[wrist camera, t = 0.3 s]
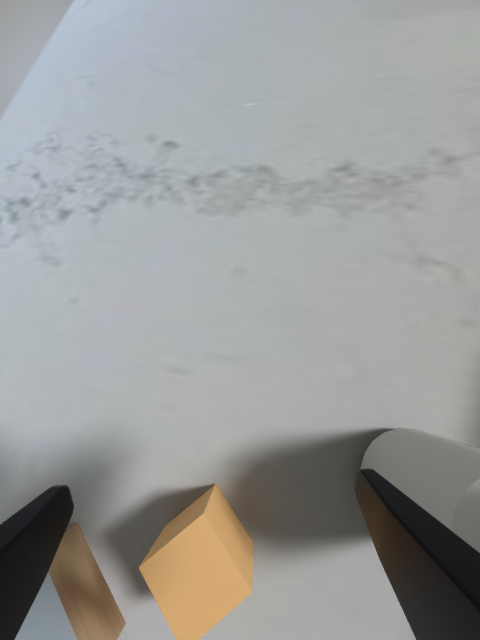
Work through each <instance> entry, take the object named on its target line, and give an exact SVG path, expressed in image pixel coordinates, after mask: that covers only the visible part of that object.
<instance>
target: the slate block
mask: <svg viewBox="0 0 480 640" xmlns="http://www.w3.org/2000/svg"><path fill="white" fill-rule="evenodd" d="M15 640H77V638H76V635H75V633H74V631H73V628H72V626H71V624H70V621H69V619H68V617H67V614H66V612H65V610H64V607H63V605H62V602H61V600H60V598H59V595H58V593H57V591H56V588H55V586H54V584H53V581H52V579H51V577H50V574H49V572H48V574H47V576H46V578H45V580H44V582H43V584H42V586H41V588H40V590H39V592H38V594H37V596H36V598H35V600H34V602H33V604H32V606H31V608H30V610H29V612H28V614H27V616H26V618H25V620H24V622H23V624H22V626H21V628H20V630H19V632H18V634H17V636H16V638H15Z"/></svg>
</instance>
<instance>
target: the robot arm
mask: <svg viewBox="0 0 480 640" xmlns="http://www.w3.org/2000/svg"><path fill="white" fill-rule="evenodd" d="M356 496H357V499H358V502H359V504H360V507H361V510H362V513H363V516H364V518H365V521H366V524H367V527H368V529H369V532H370V535H371V538H372V540H373V543H374V546H375V549H376V551H377V554H378V556H379V559H380V561H381V563H382V566H383V568H384V570H385V572H386V574H387V577H388V579H389V581H390V583H391V585H392V588H393V590H394V592H395V594H396V596H397V598H398V601H399V603H400V605H401V607H402V609H403V611H404V614H405V616H406V618H407V620H408V622H409V625H410V627H411V629H412V631H413V633H414V635H415V638H416V640H480V553H479V552H478V551H477V550H476V549H474V548H473V547H472V546H471V545H469V544H468V543H467V542H465V541H464V540H463V539H462V538H460V537H459V536H458V535H457V534H455V533H454V532H453V531H451V530H450V529H449V528H448V527H446V526H445V525H444V524H442V523H441V522H440V521H439V520H437V519H436V518H435V517H434V516H432V515H431V514H430V513H428V512H427V511H426V510H425V509H423V508H422V507H421V506H419V505H418V504H417V503H416V502H414V501H413V500H412V499H411V498H409V497H408V496H407V495H405V494H404V493H403V492H402V491H400V490H399V489H398V488H397V487H395V486H394V485H393V484H391V483H390V482H389V481H388V480H386V479H385V478H384V477H382V476H381V475H380V474H379V473H377V472H376V471H375V470H373V469H371V468H364V469H359V470H358V472H357V480H356ZM73 509H74V504H73V500H72V497H71V493H70V489H69V487H68V486H67V485H55V486H52V487H50V488H49V489H48V490H46V491H45V492H43V493H42V494H41V495H39V496H38V497H37V498H35V499H34V500H33V501H31V502H30V503H29V504H27V505H26V506H25V507H23V508H22V509H21V510H19V511H18V512H17V513H15V514H14V515H12V516H11V517H10V518H8V519H7V520H6V521H4V522H3V523H2V524H0V640H15V638H16V636H17V634H18V632H19V630H20V628H21V626H22V624H23V622H24V620H25V618H26V616H27V614H28V612H29V610H30V608H31V606H32V604H33V602H34V600H35V598H36V596H37V594H38V592H39V590H40V588H41V586H42V584H43V582H44V580H45V578H46V576H47V574H48V571H49V569H50V567H51V564H52V562H53V560H54V557H55V555H56V552H57V550H58V548H59V545H60V543H61V540H62V538H63V535H64V533H65V531H66V528H67V526H68V523H69V521H70V519H71V516H72V513H73Z"/></svg>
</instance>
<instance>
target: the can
mask: <svg viewBox="0 0 480 640" xmlns="http://www.w3.org/2000/svg"><path fill="white" fill-rule="evenodd" d="M364 468H371V469H373V470H375V471H376V472H377V473H379V474H380V475H381V476H382V477H384V478H385V479H386V480H388V481H389V482H390V483H391V484H393V485H394V486H395V487H397V488H398V489H399V490H400V491H402V492H403V493H404V494H405V495H407V496H408V497H409V498H411V499H412V500H413V501H414V502H416V503H417V504H418V505H419V506H421V507H422V508H423V509H425V510H426V511H427V512H428V513H430V514H431V515H432V516H434V517H435V518H436V519H437V520H439V521H440V522H441V523H442V524H444V525H445V526H446V527H448V528H449V529H450V530H451V531H453V532H454V533H455V534H457V535H458V536H459V537H460V538H462V539H463V540H464V541H465V542H467V543H468V544H469V545H471V546H472V547H473V548H474V549H476V550H477V551H478V552H479V553H480V449H479V448H476V447H472V446H469V445H466V444H462V443H459V442H455V441H452V440H449V439H445V438H442V437H438V436H435V435H432V434H428V433H425V432H422V431H418V430H415V429H402V428H398V429H394V430H391V431H387V432H384V433H383V434H381V435H380V436H378V437H377V438H376V439H374V440H373V441H372V442H371V444H370V445H369V447H368V448H367V450H366V452H365V453H364V457H363V461H362V465H361V468H360V469H364Z"/></svg>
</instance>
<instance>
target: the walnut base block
mask: <svg viewBox="0 0 480 640" xmlns="http://www.w3.org/2000/svg"><path fill="white" fill-rule="evenodd" d="M48 572H49V574H50V577H51V579H52V581H53V584H54V586H55V588H56V591H57V593H58V595H59V598H60V600H61V602H62V605H63V607H64V610H65V612H66V614H67V617H68V619H69V621H70V624H71V626H72V628H73V631H74V633H75V635H76V638H77V640H117V638H118V636H119V634H120V633H121V631H122V629H123V627H124V625H125V623H126V622H125V620H124V618H123V616H122V614H121V612H120V610H119V608H118V606H117V604H116V602H115V600H114V598H113V595H112V593H111V591H110V589H109V587H108V585H107V583H106V581H105V579H104V577H103V575H102V573H101V571H100V569H99V567H98V565H97V563H96V561H95V558H94V556H93V554H92V552H91V550H90V548H89V546H88V544H87V542H86V540H85V538H84V536H83V534H82V532H81V530H80V528H79V526H78V523H75V524H74V525H73V526H71V527H70V528H69V529H68V530H66V531H65V533H64V535H63V538H62V540H61V543H60V545H59V548H58V550H57V552H56V555H55V557H54V560H53V562H52V564H51V567H50V569H49V571H48Z"/></svg>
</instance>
